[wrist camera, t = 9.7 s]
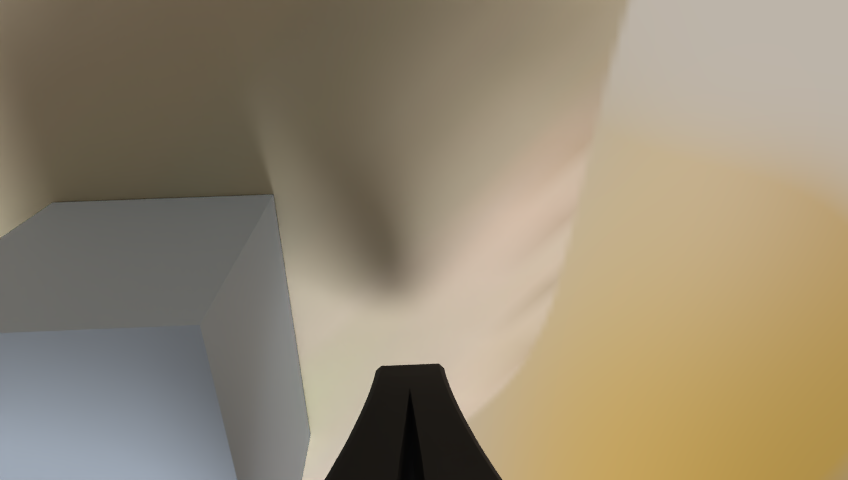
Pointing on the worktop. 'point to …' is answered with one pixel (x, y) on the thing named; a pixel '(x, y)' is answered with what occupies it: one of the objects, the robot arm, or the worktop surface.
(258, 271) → the blue-grey block
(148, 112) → the worktop surface
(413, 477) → the robot arm
